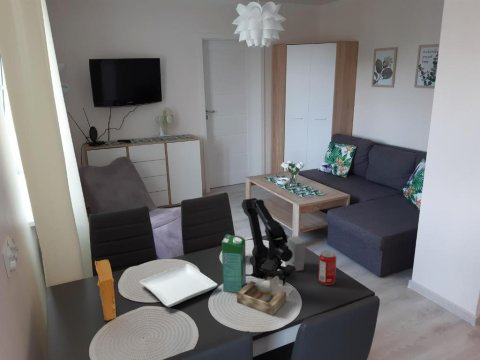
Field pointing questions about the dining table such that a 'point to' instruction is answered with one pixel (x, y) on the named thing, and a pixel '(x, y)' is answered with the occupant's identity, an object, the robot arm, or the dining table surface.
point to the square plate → (178, 284)
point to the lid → (275, 286)
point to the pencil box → (261, 298)
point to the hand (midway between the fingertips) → (274, 283)
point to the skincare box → (296, 252)
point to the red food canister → (327, 267)
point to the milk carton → (233, 263)
